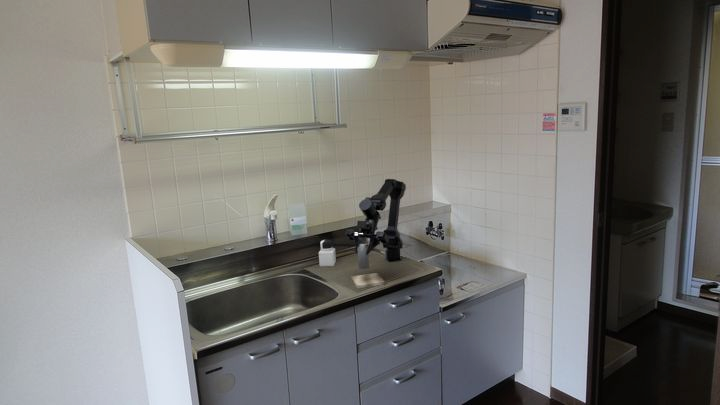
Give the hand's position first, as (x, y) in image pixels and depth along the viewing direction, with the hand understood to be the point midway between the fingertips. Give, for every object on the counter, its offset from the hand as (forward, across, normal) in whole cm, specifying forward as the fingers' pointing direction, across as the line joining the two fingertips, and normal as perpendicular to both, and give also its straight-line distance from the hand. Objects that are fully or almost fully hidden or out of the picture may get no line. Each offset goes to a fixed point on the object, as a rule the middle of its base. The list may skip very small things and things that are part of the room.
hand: (361, 253), depth 199 cm
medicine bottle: (-4, -28, +23) cm, 37 cm away
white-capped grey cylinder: (+4, 0, +6) cm, 7 cm away
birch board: (+8, +1, +12) cm, 14 cm away
